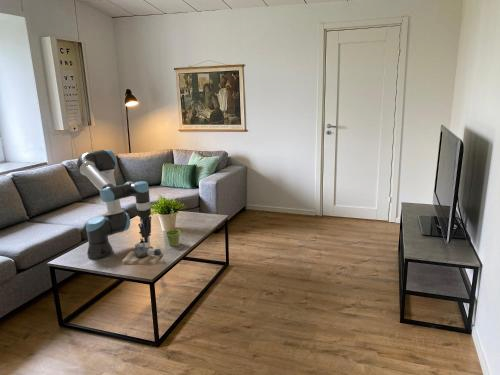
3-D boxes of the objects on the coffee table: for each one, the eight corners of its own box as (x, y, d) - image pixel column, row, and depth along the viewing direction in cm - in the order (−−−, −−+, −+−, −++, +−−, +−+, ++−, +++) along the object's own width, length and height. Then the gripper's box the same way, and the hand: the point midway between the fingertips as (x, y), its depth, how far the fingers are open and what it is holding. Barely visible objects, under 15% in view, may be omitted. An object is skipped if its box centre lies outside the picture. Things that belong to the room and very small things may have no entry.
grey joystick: (148, 227, 248) (133, 229, 246) (149, 232, 239) (132, 234, 236) (150, 244, 252) (135, 246, 249) (151, 250, 242) (135, 252, 240)
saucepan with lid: (133, 257, 227) (131, 246, 226) (139, 251, 235) (138, 241, 233) (157, 259, 224) (155, 248, 222) (163, 253, 231) (162, 242, 229)
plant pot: (182, 246, 247) (180, 233, 245) (167, 248, 244) (166, 235, 242) (180, 240, 256) (179, 228, 253) (166, 242, 253) (165, 230, 251)
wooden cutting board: (122, 263, 225) (122, 260, 224) (131, 253, 238) (130, 250, 238) (156, 263, 223) (155, 260, 223) (162, 253, 237) (162, 250, 236)
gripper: (145, 212, 206) (149, 252, 213) (154, 205, 219) (158, 242, 225) (132, 212, 208) (136, 251, 214) (142, 204, 220) (146, 241, 227)
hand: (147, 246), depth 220 cm, fingers closed
